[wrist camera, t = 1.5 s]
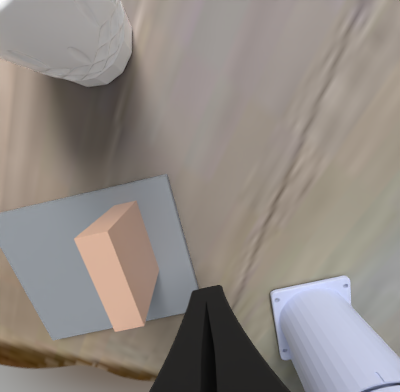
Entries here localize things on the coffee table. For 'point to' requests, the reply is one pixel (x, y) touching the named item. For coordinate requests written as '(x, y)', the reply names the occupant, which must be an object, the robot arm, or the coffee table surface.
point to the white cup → (67, 38)
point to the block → (120, 264)
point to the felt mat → (73, 263)
